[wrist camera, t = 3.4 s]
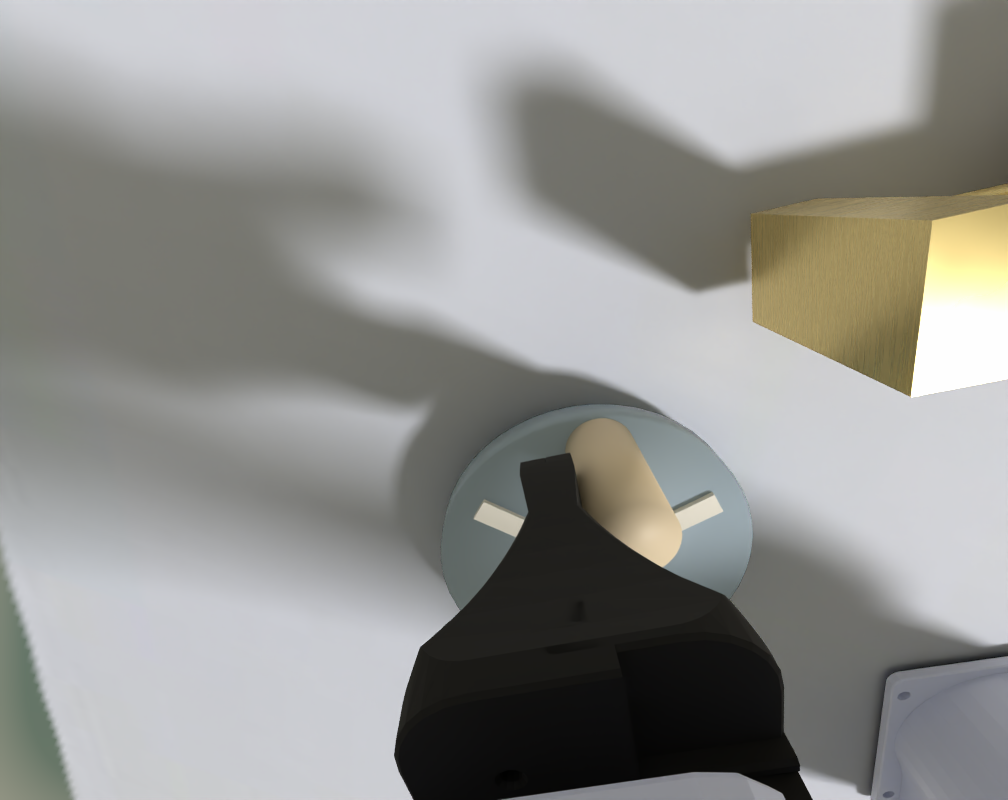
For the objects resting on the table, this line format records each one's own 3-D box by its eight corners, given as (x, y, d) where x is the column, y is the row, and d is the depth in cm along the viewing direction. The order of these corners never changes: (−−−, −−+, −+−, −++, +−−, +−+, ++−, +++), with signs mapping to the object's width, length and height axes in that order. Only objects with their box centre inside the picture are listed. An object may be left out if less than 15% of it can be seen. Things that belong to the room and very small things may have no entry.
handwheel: (716, 639, 18) (790, 790, 13) (456, 645, 18) (439, 797, 13) (762, 398, 14) (886, 493, 9) (430, 409, 14) (393, 508, 10)
